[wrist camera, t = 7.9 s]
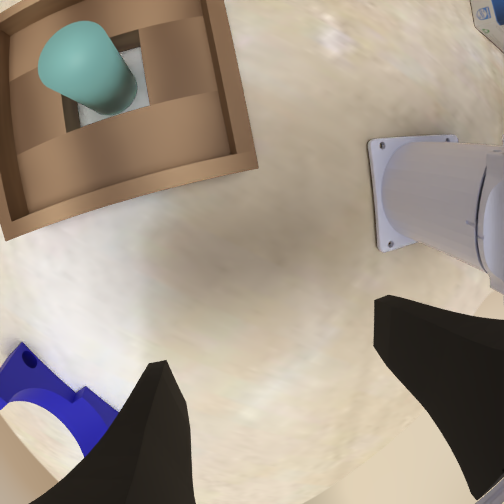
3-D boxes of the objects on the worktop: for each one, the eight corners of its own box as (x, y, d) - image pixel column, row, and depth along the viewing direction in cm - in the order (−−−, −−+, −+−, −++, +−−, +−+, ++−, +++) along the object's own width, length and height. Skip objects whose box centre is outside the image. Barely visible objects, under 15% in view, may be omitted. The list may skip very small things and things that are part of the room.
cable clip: (139, 425, 21) (135, 480, 16) (108, 441, 22) (101, 491, 16) (31, 331, 17) (-2, 379, 12) (8, 356, 17) (-22, 401, 12)
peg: (132, 61, 14) (104, 10, 7) (141, 105, 15) (112, 72, 8) (85, 78, 13) (36, 40, 7) (93, 122, 14) (41, 103, 8)
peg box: (203, -18, 13) (210, -57, 9) (241, 166, 17) (258, 168, 13) (17, 43, 11) (-15, 22, 7) (41, 222, 15) (5, 241, 11)
